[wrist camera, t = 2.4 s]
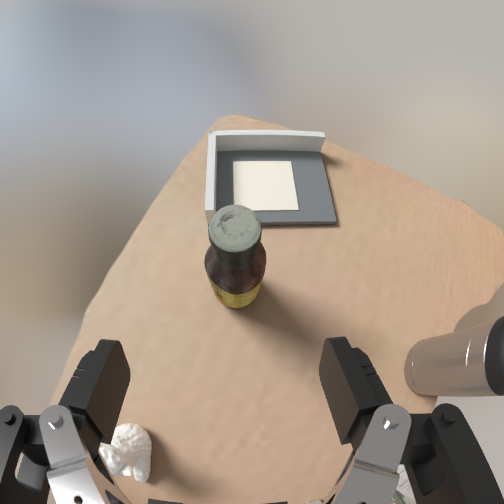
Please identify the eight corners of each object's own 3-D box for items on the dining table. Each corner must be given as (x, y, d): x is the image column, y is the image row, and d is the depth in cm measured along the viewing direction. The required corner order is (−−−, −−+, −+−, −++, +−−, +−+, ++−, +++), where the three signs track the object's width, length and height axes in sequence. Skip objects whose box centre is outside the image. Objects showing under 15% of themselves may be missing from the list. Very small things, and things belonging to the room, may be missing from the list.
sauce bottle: (213, 269, 40) (192, 187, 22) (256, 266, 41) (270, 183, 22) (215, 314, 38) (191, 264, 20) (261, 311, 38) (280, 258, 20)
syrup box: (410, 473, 28) (465, 496, 15) (381, 494, 27) (429, 528, 13) (401, 451, 30) (458, 472, 16) (370, 473, 29) (420, 506, 15)
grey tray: (317, 150, 50) (323, 132, 45) (334, 224, 44) (344, 208, 39) (211, 150, 49) (209, 131, 44) (208, 227, 43) (205, 210, 38)
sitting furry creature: (95, 442, 29) (50, 460, 18) (118, 403, 32) (75, 413, 21) (146, 481, 27) (116, 514, 16) (173, 443, 30) (147, 471, 19)
